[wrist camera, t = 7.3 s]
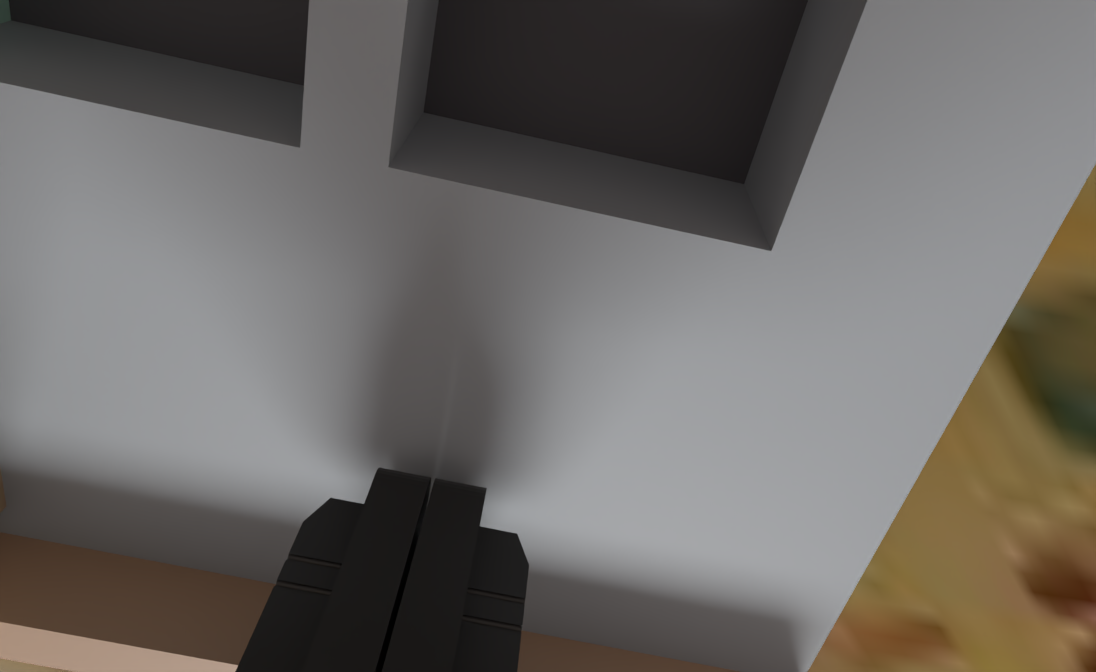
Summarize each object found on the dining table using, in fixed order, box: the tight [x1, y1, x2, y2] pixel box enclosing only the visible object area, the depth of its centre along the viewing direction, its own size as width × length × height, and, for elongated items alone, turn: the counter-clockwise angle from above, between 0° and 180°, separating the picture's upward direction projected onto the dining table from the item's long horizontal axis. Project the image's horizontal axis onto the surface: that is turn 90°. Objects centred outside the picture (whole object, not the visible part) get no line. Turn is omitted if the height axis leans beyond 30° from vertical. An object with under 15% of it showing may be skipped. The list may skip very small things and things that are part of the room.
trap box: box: [0, 0, 1096, 672], centre depth 10 cm, size 18×14×4 cm
